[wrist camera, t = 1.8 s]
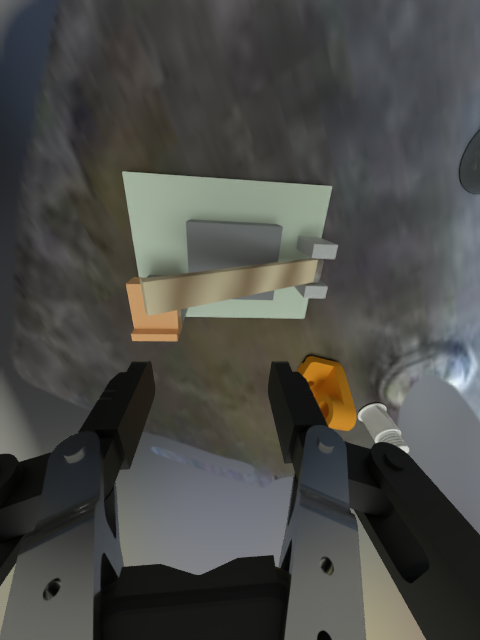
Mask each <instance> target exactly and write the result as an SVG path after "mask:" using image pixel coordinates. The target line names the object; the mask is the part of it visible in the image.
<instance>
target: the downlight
mask: <svg viewBox="0 0 480 640" xmlns="http://www.w3.org/2000/svg"><path fill="white" fill-rule="evenodd" d="M386 411H387V408H386V406H385V405H383V404H380V403H374V404H370V405H368V406H365V407H364V408H362V409H361V410H360V411H359V413H358V419H359V420H360V421H362V422H364V424H365V426H366V427H367V429H368V431H369V432H370V434H371V436H372V437H373V439H374V441H375V442H376V443H378V442H387V443H391V444H393V445H395V446H397V447H399V448H401V449H402V450H403V451H405V452H406V453H408V452H409V448H408V446H407V445H406V444H405V442H404V441H403V439H402V438H401V431H400V430H399V429H398V427H397V426H396V425H395V423H394V422H393V420H392V419H391V418H390V416H389V415H388V414H387V412H386Z"/></svg>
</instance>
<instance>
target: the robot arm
mask: <svg viewBox="0 0 480 640" xmlns="http://www.w3.org/2000/svg"><path fill="white" fill-rule="evenodd" d="M460 179H461V183H462V185H463V187H464V188H465V189H466V190H467V191H468V192H470V193H473V194H480V131H479V132H478V133H477V134H476V135H475V137H474V138H473V139H472V141H471V142H470V144H469V145H468V147H467V149H466V151H465V153H464V156H463V159H462V162H461V167H460ZM154 395H155V382H154V376H153V370H152V364H151V362H150V361H133V362H132V363H131V365H130V366H129V368H128V370H127V372H120V373H119V374H117V375H116V376H115V377H114V378H113V379H111V380H110V382H109V383H108V385H107V386H106V388H105V390H104V392H103V393H102V395H101V396H100V399H99V400H98V401H97V403H96V404H95V406H94V408H93V409H92V411H91V412H90V414H89V416H88V418H87V419H86V421H85V422H84V424H83V425H82V427H81V429H80V430H79V432H78V433H76V434H73V435H71V436H69V437H68V438H66V439H64V440H63V441H62V442H60V443H59V444H58V445H57V446H56V447H55V448H54V450H53V451H52V452H51V453H47V454H44V455H41V456H38V457H35V458H31V459H28V460H24V461H21V462H19V461H18V460H17V458H16V457H15V456H14V455H11V454H0V586H1V584H2V583H3V581H4V580H5V578H6V576H7V575H8V574H9V572H10V571H11V569H12V568H13V567H14V565H15V564H16V566H15V570H14V575H13V579H12V584H11V588H10V593H9V597H8V602H7V606H6V611H5V616H4V620H3V625H2V629H1V634H0V640H366V633H365V618H364V604H363V591H362V577H361V563H360V551H359V536H358V526H357V520H356V517H355V515H354V514H353V513H351V511H350V508H352V509H354V511H355V513H356V514H357V516H358V518H359V520H360V521H361V523H362V525H363V527H364V529H365V530H366V532H367V534H368V536H369V538H370V539H371V541H372V543H373V545H374V547H375V548H376V550H377V552H378V554H379V556H380V557H381V559H382V561H383V563H384V565H385V566H386V568H387V570H388V572H389V573H390V575H391V577H392V579H393V581H394V583H395V584H396V586H397V588H398V590H399V592H400V593H401V595H402V597H403V599H404V600H405V602H406V604H407V606H408V608H409V609H410V611H411V613H412V615H413V617H414V618H415V620H416V622H417V624H418V625H419V627H420V629H421V631H422V633H423V635H424V636H425V638H426V640H480V535H479V534H478V533H477V531H476V530H475V529H474V528H473V527H472V526H471V525H470V524H469V522H468V521H467V520H466V519H465V518H464V517H463V516H462V514H461V513H460V512H459V511H458V510H457V509H456V508H455V507H454V505H453V504H452V503H451V502H450V501H449V500H448V499H447V498H446V496H445V495H444V494H443V493H442V492H441V491H440V490H439V488H438V487H437V486H436V485H435V484H434V483H433V482H432V481H431V479H430V478H429V477H428V476H427V475H426V474H425V473H424V472H423V470H421V468H420V467H419V466H418V465H417V464H416V463H415V461H414V460H413V459H412V458H411V457H410V456H409V455H408V454H407V453H406V452H405V451H403V450H402V449H401V448H399V447H397V446H395V445H393V444H391V443H387V442H378V443H375V444H374V445H373V446H372V448H371V449H368V448H365V447H361V446H358V445H354V444H351V443H348V442H346V441H344V440H343V439H342V437H341V436H340V435H339V434H338V433H337V432H336V431H335V430H333V429H331V428H329V426H328V424H327V422H326V420H325V418H324V416H323V414H322V412H321V410H320V407H319V405H318V403H317V401H316V399H315V397H314V395H313V392H312V390H310V386H309V384H308V382H307V380H306V378H304V377H303V376H302V375H301V374H300V373H299V372H292V370H291V367H290V365H289V363H288V362H287V361H273V362H272V364H271V370H270V376H269V383H268V395H269V400H270V404H271V409H272V413H273V417H274V421H275V425H276V430H277V434H278V438H279V442H280V446H281V451H282V455H283V459H284V463H293V467H294V471H295V473H294V477H293V484H292V490H291V497H290V503H289V510H288V517H287V523H286V530H285V535H284V540H283V545H282V549H281V555H280V561H279V567H275V563H274V556H273V555H270V556H257V557H244V558H237V559H235V560H232V561H230V562H228V563H226V564H224V565H222V566H219V567H217V568H215V569H213V570H211V571H209V572H206V573H204V574H202V575H194V574H191V573H188V572H185V571H181V570H178V569H175V568H172V567H169V566H166V565H162V564H154V565H142V566H129V567H124V563H123V557H122V552H121V547H120V538H119V522H118V505H117V489H116V482H115V481H116V478H117V475H118V473H119V470H121V469H130V467H131V464H132V461H133V458H134V455H135V452H136V449H137V446H138V443H139V440H140V437H141V435H142V432H143V429H144V426H145V423H146V420H147V417H148V414H149V411H150V408H151V405H152V402H153V399H154Z"/></svg>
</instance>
